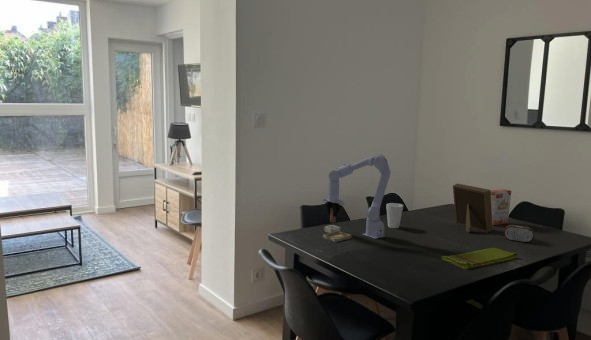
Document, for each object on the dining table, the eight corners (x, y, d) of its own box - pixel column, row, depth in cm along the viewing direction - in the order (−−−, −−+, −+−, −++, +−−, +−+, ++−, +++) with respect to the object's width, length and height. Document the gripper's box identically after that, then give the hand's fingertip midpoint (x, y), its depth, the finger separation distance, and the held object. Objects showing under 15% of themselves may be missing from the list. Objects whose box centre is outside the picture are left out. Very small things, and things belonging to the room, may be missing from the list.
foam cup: (400, 225, 279) (402, 203, 278) (402, 229, 270) (404, 207, 268) (384, 224, 280) (385, 202, 278) (386, 228, 271) (387, 206, 269)
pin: (336, 222, 259) (337, 207, 258) (332, 222, 258) (333, 208, 256) (332, 220, 262) (333, 206, 261) (328, 221, 260) (329, 207, 259)
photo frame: (460, 222, 288) (463, 182, 284) (492, 231, 270) (496, 188, 266) (444, 226, 280) (447, 184, 276) (476, 235, 262) (480, 191, 258)
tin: (533, 242, 252) (535, 227, 250) (533, 244, 249) (535, 228, 248) (503, 238, 258) (504, 223, 257) (502, 239, 255) (504, 224, 254)
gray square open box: (340, 232, 260) (340, 227, 260) (332, 234, 256) (332, 229, 256) (332, 230, 265) (332, 224, 265) (324, 231, 261) (324, 226, 261)
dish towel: (439, 260, 222) (440, 253, 221) (491, 250, 239) (492, 243, 238) (465, 270, 208) (466, 263, 208) (518, 259, 225) (519, 253, 225)
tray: (351, 238, 249) (352, 235, 249) (335, 242, 242) (335, 239, 241) (338, 234, 257) (338, 230, 256) (322, 238, 249) (322, 234, 249)
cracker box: (493, 226, 282) (496, 192, 279) (485, 223, 287) (488, 190, 284) (508, 223, 289) (512, 190, 286) (500, 221, 294) (503, 188, 291)
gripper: (319, 190, 260) (318, 214, 262) (337, 194, 249) (336, 219, 251) (328, 188, 265) (327, 212, 267) (347, 193, 253) (346, 217, 256)
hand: (332, 215), depth 259 cm, fingers closed on pin, 3 cm apart
